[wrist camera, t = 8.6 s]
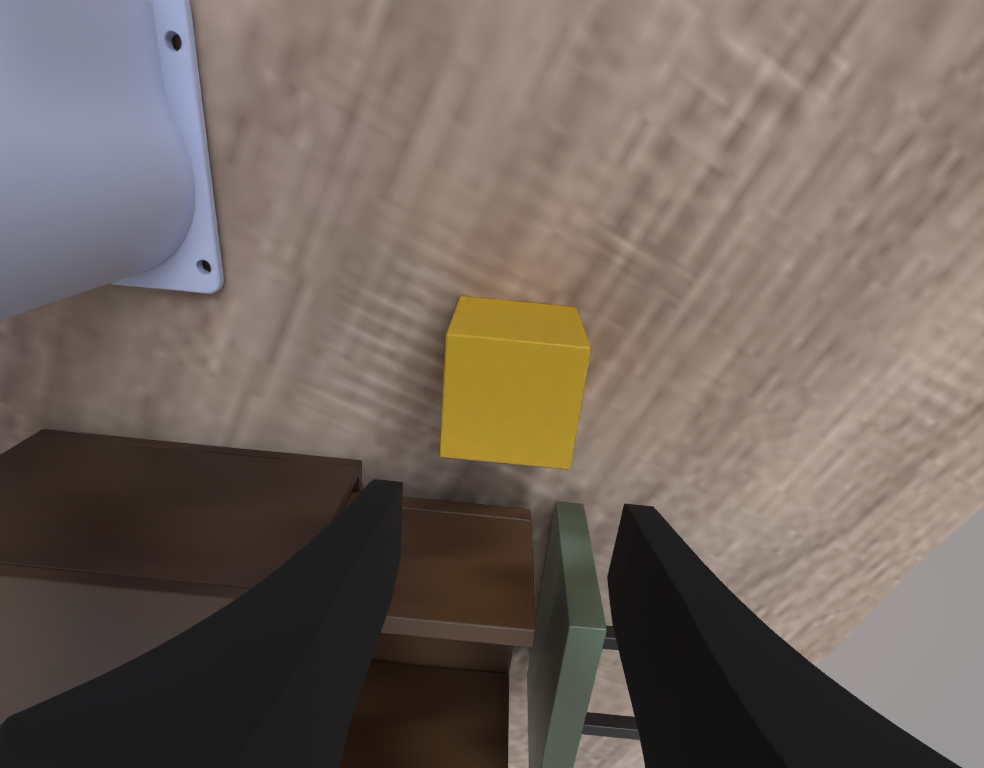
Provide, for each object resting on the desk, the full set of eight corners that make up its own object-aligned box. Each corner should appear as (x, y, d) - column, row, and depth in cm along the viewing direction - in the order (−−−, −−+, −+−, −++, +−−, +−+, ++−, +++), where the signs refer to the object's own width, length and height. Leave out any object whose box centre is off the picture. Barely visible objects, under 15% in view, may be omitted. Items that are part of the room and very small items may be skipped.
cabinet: (361, 460, 23) (290, 604, 16) (365, 653, 28) (311, 831, 21) (41, 429, 23) (-176, 559, 16) (101, 627, 28) (-45, 796, 21)
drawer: (693, 514, 23) (756, 644, 17) (642, 685, 27) (677, 836, 21) (275, 473, 23) (190, 589, 17) (292, 651, 27) (229, 792, 21)
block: (460, 295, 20) (445, 333, 16) (576, 306, 20) (591, 347, 16) (453, 400, 22) (438, 458, 18) (560, 410, 22) (570, 470, 18)
